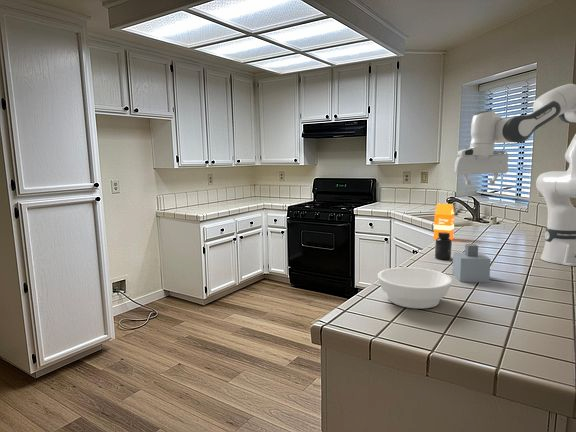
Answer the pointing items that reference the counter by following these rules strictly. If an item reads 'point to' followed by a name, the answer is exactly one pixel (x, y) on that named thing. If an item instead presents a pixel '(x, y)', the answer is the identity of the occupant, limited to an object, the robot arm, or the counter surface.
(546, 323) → the counter surface
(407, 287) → the bowl
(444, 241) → the supplement bottle
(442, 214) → the orange juice
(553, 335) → the counter surface
